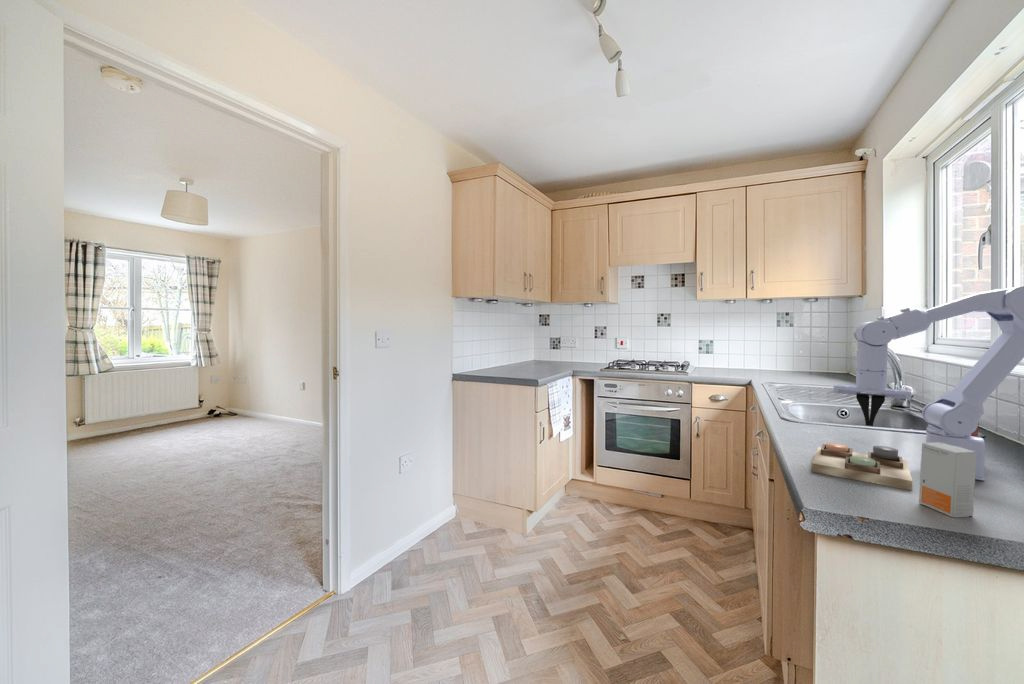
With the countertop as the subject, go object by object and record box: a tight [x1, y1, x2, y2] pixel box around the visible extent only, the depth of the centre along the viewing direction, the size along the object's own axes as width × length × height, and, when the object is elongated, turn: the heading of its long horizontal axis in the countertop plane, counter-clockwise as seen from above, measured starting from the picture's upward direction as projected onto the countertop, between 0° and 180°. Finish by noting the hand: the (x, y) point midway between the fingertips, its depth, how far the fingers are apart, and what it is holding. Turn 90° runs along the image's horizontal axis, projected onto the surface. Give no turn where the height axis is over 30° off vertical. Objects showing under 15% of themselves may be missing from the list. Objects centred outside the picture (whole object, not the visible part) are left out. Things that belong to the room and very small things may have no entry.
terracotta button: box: [825, 442, 849, 453], centre depth 105 cm, size 4×4×2 cm
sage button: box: [850, 456, 875, 468], centre depth 95 cm, size 4×4×2 cm
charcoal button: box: [872, 445, 899, 459], centre depth 98 cm, size 4×4×2 cm
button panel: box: [811, 443, 913, 491], centre depth 99 cm, size 17×16×3 cm
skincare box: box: [918, 442, 977, 518], centre depth 78 cm, size 6×4×12 cm
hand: (869, 425), depth 104 cm, fingers closed
